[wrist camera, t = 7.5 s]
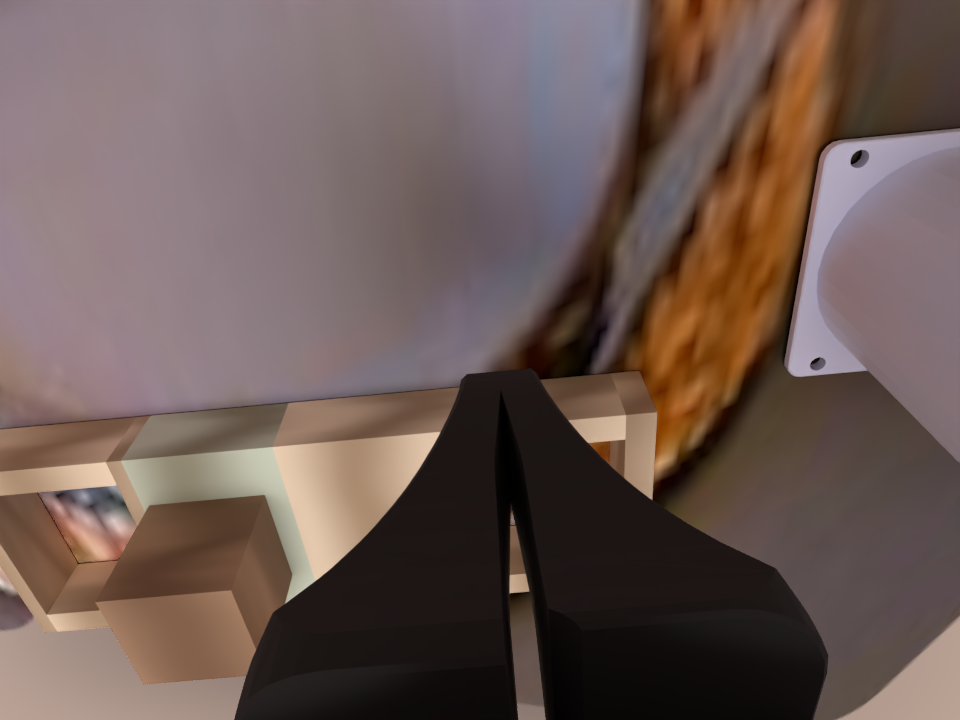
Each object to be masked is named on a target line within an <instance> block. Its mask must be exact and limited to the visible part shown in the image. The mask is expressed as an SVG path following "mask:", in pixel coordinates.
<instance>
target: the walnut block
mask: <svg viewBox="0 0 960 720" xmlns="http://www.w3.org/2000/svg"><path fill="white" fill-rule="evenodd" d="M291 579H292V572H291V569H290V566H289V563H288V560H287V558H286V555H285V552H284V549H283V546H282V543H281V540H280V537H279V534H278V532H277V529H276V526H275V523H274V520H273V517H272V514H271V511H270V508H269V506H268V503H267V500H266V497H265V495H258V496H247V497H236V498H225V499H214V500H203V501H192V502H180V503H169V504H158V505H149V506H148V508H147V510H146V512H145V514H144V515H143V517H142V519H141V521H140V523H139V524H138V526H137V528H136V530H135V532H134V533H133V535H132V537H131V539H130V541H129V542H128V544H127V546H126V548H125V550H124V551H123V553H122V555H121V557H120V559H119V560H118V562H117V564H116V566H115V568H114V569H113V571H112V573H111V575H110V577H109V578H108V580H107V582H106V584H105V585H104V587H103V589H102V591H101V593H100V594H99V596H98V598H97V600H96V602H95V603H96V604H97V606H98V608H99V610H100V611H101V613H102V615H103V616H104V618H105V620H106V621H107V623H108V625H109V627H110V628H111V630H112V632H113V633H114V635H115V637H116V638H117V640H118V642H119V644H120V645H121V647H122V649H123V650H124V652H125V654H126V655H127V657H128V659H129V660H130V662H131V664H132V666H133V667H134V669H135V671H136V672H137V674H138V676H139V678H140V679H141V681H142V683H143V684H155V683H167V682H178V681H190V680H202V679H215V678H226V677H237V676H246V675H247V672H248V669H249V666H250V663H251V661H252V658H253V656H254V653H255V651H256V649H257V647H258V644H259V642H260V639H261V637H262V635H263V633H264V631H265V628H266V626H267V624H268V622H269V620H270V617H271V615H272V613H273V612H274V611H275V610H277V609H278V608H280V607H281V606H283V605H284V604H285V602H286V598H287V594H288V591H289V587H290V583H291Z"/></svg>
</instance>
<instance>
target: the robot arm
mask: <svg viewBox="0 0 960 720" xmlns="http://www.w3.org/2000/svg"><path fill="white" fill-rule="evenodd" d="M859 150H862V156H861V158H860V160H858V161H857V162H856V163H854V164H851V161H850V160H851V157H852V155H853V154H854V153H855V152H856V151H859ZM819 357H820V359H819V361H818V362H816V363H815V364H811V362H812V361H813V360H814V359H815V358H819ZM784 362H785V367H786V369H787V370H788V371H789V372H790V374H792V375H793V376H797V377H803V376H814V375H825V374H836V373H847V372H858V371H869V372H870V373H871V374H872V375H873V376H874V377H875V378H876V379H877V380H878V381H879V382H880V383H881V384H882V385H883V386H884V387H885V388H886V389H887V390H888V391H889V392H890V393H891V394H892V395H893V396H894V397H895V398H896V399H897V400H898V401H899V402H900V403H901V404H902V405H903V407H904V408H905V409H906V410H907V411H908V412H909V413H910V414H911V415H912V416H913V417H914V418H915V419H916V420H917V421H918V422H919V423H920V424H921V425H922V426H923V427H924V428H925V429H926V430H927V431H928V432H929V433H930V434H931V435H932V436H933V437H934V438H935V439H936V440H937V441H938V442H939V443H940V444H941V445H942V446H943V447H944V448H945V449H946V450H947V451H948V452H949V453H950V454H951V455H952V456H953V457H954V458H955V459H956V460H957V461H958V462H959V463H960V128H958V129H948V130H938V131H927V132H917V133H907V134H897V135H887V136H877V137H867V138H856V139H846V140H838V141H835V142H832V143H831V144H829V145H828V146H827V147H826V148H825V149H824V150H823V152H822V153H821V156H820V159H819V164H818V170H817V176H816V182H815V188H814V193H813V199H812V205H811V211H810V216H809V222H808V228H807V234H806V240H805V245H804V251H803V257H802V263H801V268H800V274H799V280H798V286H797V292H796V297H795V303H794V309H793V315H792V321H791V326H790V332H789V338H788V344H787V349H786V355H785V361H784ZM511 506H512V510H513V515H514V520H515V525H516V530H517V534H518V539H519V544H520V549H521V554H522V558H523V563H524V568H525V573H526V577H527V582H528V587H529V592H530V596H531V601H532V607H533V614H534V620H535V627H536V636H537V645H538V654H539V663H540V672H541V681H542V690H543V699H544V708H545V717H546V720H813V718H814V715H815V711H816V708H817V705H818V701H819V698H820V695H821V691H822V688H823V684H824V681H825V678H826V674H827V665H828V654H827V651H826V649H825V646H824V644H823V641H822V639H821V637H820V635H819V633H818V631H817V629H816V627H815V625H814V624H813V622H812V620H811V618H810V616H809V615H808V613H807V612H806V610H805V609H804V607H803V606H802V604H801V603H800V601H799V600H798V599H797V597H796V596H795V594H794V593H793V591H792V590H791V589H790V587H789V586H788V584H787V583H786V582H785V580H784V579H783V578H782V576H781V575H780V573H779V572H778V571H777V569H775V568H774V567H772V566H770V565H767V564H765V563H763V562H761V561H759V560H757V559H755V558H753V557H751V556H748V555H746V554H744V553H742V552H740V551H738V550H736V549H734V548H731V547H729V546H727V545H725V544H723V543H721V542H719V541H717V540H715V539H714V538H712V537H710V536H708V535H707V534H705V533H703V532H701V531H700V530H698V529H696V528H694V527H693V526H691V525H689V524H687V523H686V522H684V521H683V520H681V519H679V518H678V517H676V516H675V515H673V514H672V513H670V512H669V511H667V510H666V509H665V508H663V507H662V506H660V505H659V504H657V503H656V502H654V501H653V500H651V499H650V498H648V497H647V496H646V495H645V494H643V493H642V492H641V491H639V490H638V489H637V488H636V487H634V486H633V485H632V484H631V483H630V482H628V481H627V480H626V479H625V478H624V477H623V476H621V475H620V474H619V473H618V472H617V471H616V470H615V469H613V468H612V467H611V466H610V465H609V464H608V463H607V462H606V461H605V460H604V459H603V458H602V457H601V456H600V455H599V454H598V453H597V452H596V451H595V450H594V449H593V448H592V447H591V446H590V445H589V444H588V443H587V441H586V440H585V439H584V438H583V437H582V436H581V435H580V434H579V433H578V431H577V430H576V429H575V428H574V427H573V425H572V424H571V423H570V422H569V420H568V419H567V418H566V417H565V416H564V414H563V413H562V412H561V410H560V409H559V408H558V406H557V405H556V404H555V402H554V401H553V399H552V398H551V397H550V395H549V394H548V392H547V391H546V389H545V387H544V386H543V384H542V382H541V381H540V379H539V377H538V375H537V373H536V372H535V371H533V370H532V369H520V370H509V371H498V372H487V373H476V374H467V375H466V376H465V377H464V378H463V379H462V380H461V384H460V388H459V391H458V394H457V397H456V400H455V402H454V405H453V407H452V409H451V411H450V414H449V416H448V418H447V420H446V422H445V424H444V426H443V428H442V430H441V432H440V434H439V436H438V438H437V440H436V442H435V443H434V445H433V447H432V449H431V450H430V452H429V453H428V455H427V457H426V458H425V460H424V462H423V463H422V465H421V467H420V468H419V470H418V471H417V473H416V474H415V476H414V477H413V479H412V480H411V482H410V483H409V484H408V486H407V487H406V489H405V490H404V491H403V493H402V494H401V495H400V496H399V498H398V499H397V500H396V502H395V503H394V504H393V505H392V507H391V508H390V509H389V510H388V511H387V512H386V514H385V515H384V516H383V517H382V518H381V519H380V520H379V522H378V523H377V524H376V525H375V526H374V527H373V528H372V529H371V531H370V532H369V533H368V534H367V535H366V536H365V537H364V538H363V539H362V540H361V541H360V542H359V543H358V544H357V545H356V546H355V547H354V548H353V549H351V550H350V551H349V552H348V553H347V554H346V555H345V556H344V557H343V558H342V559H341V560H340V561H339V562H338V563H336V564H335V565H334V566H333V567H332V568H331V569H330V570H329V571H327V572H326V573H325V574H324V575H322V576H321V577H320V578H319V579H317V580H316V581H315V582H313V583H312V584H311V585H309V586H308V587H307V588H305V589H304V590H303V591H301V592H300V593H299V594H297V595H296V596H295V597H293V598H292V599H291V600H289V601H288V602H287V603H285V604H284V605H283V606H281V607H280V608H278V609H277V610H275V611H274V612H273V613H272V615H271V617H270V620H269V622H268V624H267V626H266V628H265V631H264V633H263V635H262V637H261V639H260V642H259V644H258V647H257V649H256V651H255V653H254V656H253V658H252V661H251V663H250V666H249V669H248V672H247V675H246V679H245V682H244V686H243V690H242V693H241V697H240V700H239V704H238V708H237V711H236V715H235V719H234V720H518V713H517V700H516V688H515V676H514V664H513V652H512V640H511V628H510V602H509V601H510V513H511Z"/></svg>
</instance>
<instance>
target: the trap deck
mask: <svg viewBox="0 0 960 720" xmlns="http://www.w3.org/2000/svg"><path fill="white" fill-rule="evenodd" d="M540 381H541V382H542V384H543V386H544V387H545V389H546V391H547V392H548V394H549V395H550V397H551V398H552V399H553V401H554V402H555V404H556V405H557V406H558V408H559V409H560V410H561V412H562V413H563V414H564V416H565V417H566V418H567V419H568V420H569V422H570V423H571V424H572V425H573V427H574V428H575V429H576V430H577V431H578V433H579V434H580V435H581V436H582V437H583V438H584V439H585V440H586V441H587V443H593V442H604V441H610V464H609V465H610V466H611V467H612V468H613V469H615V470H616V471H617V472H618V473H619V474H620V475H621V476H623V477H624V478H625V479H626V480H627V481H628V482H630V483H631V484H632V485H633V486H634V487H636V488H637V489H638V490H639V491H641V492H642V493H643V494H645V495H646V496H647V497H648V498H650V499H651V500H652V493H653V477H654V460H655V443H656V426H657V410H656V408H655V406H654V404H653V401H652V399H651V397H650V394H649V392H648V390H647V388H646V385H645V383H644V381H643V378H642V376H641V374H640V372H639V371H631V372H620V373H609V374H598V375H588V376H577V377H566V378H555V379H544V380H540ZM459 388H460V387H457V388H446V389H435V390H424V391H413V392H403V393H392V394H381V395H370V396H359V397H348V398H337V399H326V400H316V401H305V402H294V403H283V404H272V405H261V406H250V407H239V408H229V409H218V410H207V411H196V412H185V413H174V414H163V415H152V416H142V417H131V418H120V419H109V420H98V421H87V422H76V423H65V424H55V425H44V426H33V427H22V428H11V429H0V566H1V568H2V569H3V571H4V572H5V574H6V575H7V577H8V578H9V580H10V581H11V583H12V584H13V586H14V587H15V589H16V590H17V592H18V593H19V595H20V596H21V598H22V599H23V601H24V602H25V604H26V605H27V607H28V608H29V610H30V611H31V613H32V614H33V616H34V617H35V619H36V620H37V622H38V623H39V625H40V626H41V628H42V629H43V630H44V632H45V633H47V632H59V631H71V630H81V629H94V628H105V627H109V625H108V623H107V621H106V620H105V618H104V616H103V615H102V613H101V611H100V610H99V608H98V606H97V604H96V603H95V602H96V600H97V598H98V596H99V594H100V593H101V591H102V589H103V587H104V585H105V584H106V582H107V580H108V578H109V577H110V575H111V573H112V571H113V569H114V568H115V566H116V564H117V562H118V561H106V562H95V563H84V564H78V563H77V561H76V559H75V558H74V556H73V554H72V553H71V551H70V549H69V547H68V546H67V544H66V542H65V541H64V539H63V537H62V535H61V534H60V532H59V530H58V528H57V527H56V525H55V523H54V522H53V520H52V518H51V516H50V515H49V513H48V511H47V510H46V508H45V506H44V504H43V503H42V501H41V499H40V497H39V496H38V494H37V492H48V491H59V490H70V489H81V488H92V487H103V486H114V485H117V486H118V488H119V490H120V492H121V494H122V496H123V499H124V501H125V503H126V505H127V507H128V509H129V511H130V513H131V515H132V517H133V519H134V521H135V523H136V525H137V526H138V524H139V523H140V521H141V519H142V517H143V515H144V514H145V512H146V510H147V508H148V506H149V505H158V504H169V503H180V502H192V501H203V500H214V499H225V498H236V497H247V496H258V495H265V497H266V500H267V503H268V506H269V508H270V511H271V514H272V517H273V520H274V523H275V526H276V529H277V532H278V534H279V537H280V540H281V543H282V546H283V549H284V552H285V555H286V558H287V560H288V563H289V566H290V569H291V572H292V579H291V583H290V587H289V591H288V594H287V598H286V602H285V603H287V602H288V601H289V600H291V599H292V598H293V597H295V596H296V595H297V594H299V593H300V592H301V591H303V590H304V589H305V588H307V587H308V586H309V585H311V584H312V583H313V582H315V581H316V580H317V579H319V578H320V577H321V576H322V575H324V574H325V573H326V572H327V571H329V570H330V569H331V568H332V567H333V566H334V565H335V564H336V563H338V562H339V561H340V560H341V559H342V558H343V557H344V556H345V555H346V554H347V553H348V552H349V551H350V550H351V549H353V548H354V547H355V546H356V545H357V544H358V543H359V542H360V541H361V540H362V539H363V538H364V537H365V536H366V535H367V534H368V533H369V532H370V531H371V529H372V528H373V527H374V526H375V525H376V524H377V523H378V522H379V520H380V519H381V518H382V517H383V516H384V515H385V514H386V512H387V511H388V510H389V509H390V508H391V507H392V505H393V504H394V503H395V502H396V500H397V499H398V498H399V496H400V495H401V494H402V493H403V491H404V490H405V489H406V487H407V486H408V484H409V483H410V482H411V480H412V479H413V477H414V476H415V474H416V473H417V471H418V470H419V468H420V467H421V465H422V463H423V462H424V460H425V458H426V457H427V455H428V453H429V452H430V450H431V449H432V447H433V445H434V443H435V442H436V440H437V438H438V436H439V434H440V432H441V430H442V428H443V426H444V424H445V422H446V420H447V418H448V416H449V414H450V411H451V409H452V407H453V405H454V402H455V400H456V397H457V394H458V391H459ZM527 591H529V587H528V582H527V577H526V573H525V568H524V563H523V558H522V554H521V549H520V544H519V539H518V534H517V530H516V526H510V593H515V592H527Z"/></svg>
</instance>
